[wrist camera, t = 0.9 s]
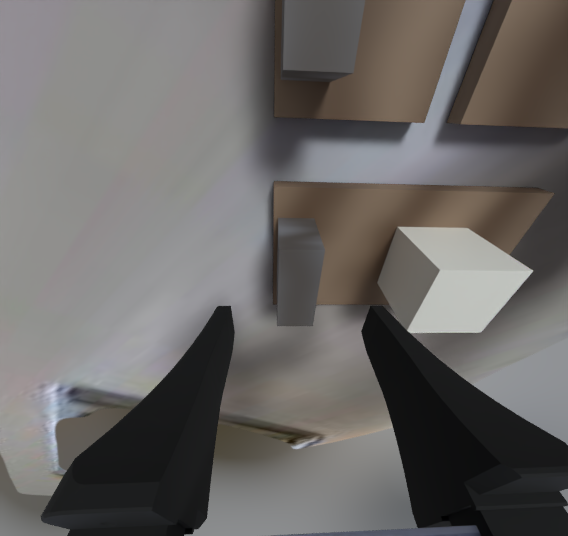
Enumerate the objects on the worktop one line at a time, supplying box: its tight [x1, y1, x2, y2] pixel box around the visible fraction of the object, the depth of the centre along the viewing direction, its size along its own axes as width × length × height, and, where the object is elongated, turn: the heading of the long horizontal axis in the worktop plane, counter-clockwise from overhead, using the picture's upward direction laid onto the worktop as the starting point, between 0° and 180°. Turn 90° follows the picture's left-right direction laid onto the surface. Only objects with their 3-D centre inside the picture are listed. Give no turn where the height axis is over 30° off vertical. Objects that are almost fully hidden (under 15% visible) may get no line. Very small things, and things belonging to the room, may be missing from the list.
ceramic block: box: [377, 227, 533, 333], centre depth 15 cm, size 5×5×5 cm
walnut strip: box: [273, 181, 555, 326], centre depth 16 cm, size 18×10×5 cm, turn 88°
